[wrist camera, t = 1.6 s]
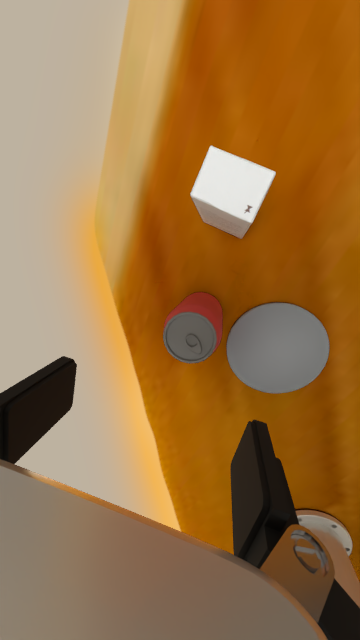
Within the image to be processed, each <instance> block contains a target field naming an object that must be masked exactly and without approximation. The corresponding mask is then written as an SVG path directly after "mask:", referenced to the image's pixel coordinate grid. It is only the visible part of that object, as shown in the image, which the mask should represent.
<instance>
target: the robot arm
mask: <svg viewBox="0 0 360 640" xmlns="http://www.w3.org/2000/svg"><path fill="white" fill-rule="evenodd" d="M76 367H77V364H76V363H75V361H74V360H73V359H71V358H68V357H65V356H63V357H61V358H59V359H57V360H56V361H54V362H52V363H51V364H49V365H47V366H46V367H44V368H42V369H40V370H39V371H37V372H36V373H34V374H32V375H31V376H29V377H27V378H25V379H24V380H22V381H20V382H19V383H17V384H15V385H14V386H12V387H10V388H9V389H7V390H5V391H4V392H2V393H0V640H360V583H359V580H358V578H357V575H356V573H355V571H354V568H353V566H352V564H351V561H350V559H349V555H350V554H351V552H352V547H353V545H352V540H351V537H350V535H349V533H348V531H347V529H346V528H345V526H344V525H343V524H342V523H341V522H339V521H338V520H337V519H335V518H334V517H332V516H330V515H328V514H325V513H323V512H319V511H314V510H298V511H295V508H294V504H293V501H292V497H291V494H290V491H289V487H288V484H287V480H286V477H285V473H284V470H283V466H282V463H281V461H280V460H279V459H278V458H276V457H275V454H274V450H273V446H272V442H271V439H270V435H269V431H268V428H267V424H266V423H263V422H260V421H257V420H253V421H252V422H250V421H249V422H248V424H247V426H246V429H245V431H244V434H243V436H242V438H241V441H240V443H239V445H238V448H237V450H236V453H235V455H234V457H233V460H232V463H231V492H232V518H233V544H234V555H232V554H230V553H228V552H226V551H224V550H222V549H220V548H217V547H215V546H213V545H210V544H208V543H206V542H203V541H201V540H199V539H197V538H194V537H192V536H190V535H187V534H185V533H183V532H180V531H178V530H175V529H173V528H170V527H168V526H166V525H163V524H161V523H158V522H156V521H153V520H151V519H149V518H146V517H144V516H141V515H139V514H136V513H134V512H132V511H129V510H127V509H124V508H122V507H119V506H117V505H114V504H112V503H109V502H107V501H105V500H102V499H100V498H97V497H95V496H92V495H90V494H87V493H85V492H82V491H80V490H77V489H75V488H72V487H70V486H67V485H65V484H62V483H60V482H57V481H55V480H52V479H50V478H47V477H44V476H42V475H40V474H37V473H35V472H32V471H30V470H27V469H25V468H22V467H20V466H17V465H15V463H16V462H17V461H18V460H19V459H20V458H21V457H22V456H23V455H24V454H25V453H26V452H27V451H28V450H29V449H30V448H31V447H32V446H33V445H34V444H35V443H36V442H37V441H38V440H39V439H40V438H41V437H42V436H44V435H45V434H46V433H47V432H48V430H50V429H51V427H53V426H54V425H55V424H56V423H57V422H58V421H59V420H60V419H61V418H62V417H63V416H64V415H65V414H66V413H67V412H68V411H69V410H70V408H71V407H72V403H73V394H74V385H75V375H76Z"/></svg>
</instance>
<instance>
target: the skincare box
mask: <svg viewBox="0 0 360 640" xmlns="http://www.w3.org/2000/svg"><path fill="white" fill-rule="evenodd" d="M275 175H276V172H275V171H272V170H270V169H267V168H265V167H263V166H260V165H258V164H255V163H253V162H250V161H248V160H246V159H243V158H240V157H238V156H235V155H233V154H230V153H228V152H225V151H223V150H220V149H218V148H216V147H213V146H210V148H209V150H208V153H207V155H206V157H205V160H204V162H203V165H202V167H201V169H200V172H199V174H198V177H197V179H196V181H195V184H194V186H193V189H192V191H191V194H190V196H191V198H192V200H193V202H194V204H195V206H196V208H197V210H198V212H199V214H200V216H201V218H202V220H203V222H205V223H207V224H209V225H212V226H214V227H216V228H218V229H220V230H223V231H225V232H227V233H229V234H232V235H234V236H236V237H238V238H240V239H242V238H243V236H244V235H245V233H246V232H247V230H248V228H249V227H250V225H251V224H252V223H253V221H254V219H255V217H256V214H257V212H258V210H259V208H260V206H261V204H262V202H263V200H264V198H265V196H266V194H267V192H268V189H269V187H270V185H271V183H272V181H273V179H274V177H275Z"/></svg>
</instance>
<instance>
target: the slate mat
mask: <svg viewBox="0 0 360 640" xmlns="http://www.w3.org/2000/svg"><path fill="white" fill-rule="evenodd" d="M328 355H329V339H328V335H327V333H326V330H325V328H324V327H323V325H322V324H321V322H320V321H319V320H318V319H317V318H316V317H315V316H314V315H313V314H311V313H310V312H308V311H307V310H305V309H303V308H301V307H299V306H296V305H293V304H289V303H282V302H274V303H266V304H262V305H259V306H257V307H254V308H252V309H250V310H249V311H247V312H246V313H244V314H243V315H242V316H241V317H240V318H239V319H238V320H237V321H236V322H235V323H234V325H233V327H232V328H231V330H230V333H229V335H228V339H227V357H228V361H229V364H230V366H231V368H232V370H233V372H234V373H235V375H236V376H237V377H238V378H239V379H240V380H241V381H242V382H244V383H245V384H246V385H248V386H250V387H252V388H254V389H256V390H259V391H262V392H267V393H286V392H291V391H294V390H297V389H300V388H302V387H304V386H306V385H307V384H309V383H310V382H312V381H313V380H314V379H315V378H316V377H317V376H318V375H319V374H320V372H321V371H322V370H323V368H324V366H325V364H326V362H327V359H328Z"/></svg>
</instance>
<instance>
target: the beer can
mask: <svg viewBox="0 0 360 640" xmlns="http://www.w3.org/2000/svg"><path fill="white" fill-rule="evenodd" d="M222 321H223V314H222V307H221V305H220V303H219V301H218V300H217V299H216V298H215V297H214V296H212V295H210V294H208V293H203V292H198V293H193V294H191V295H189V296H187V297H186V298H185V299H184V300H183V301H182V302H181V303H180V304H179V305H178V306H177V307H176V308H175V309H174V310H173V311H172V312H171V313H169V315H168V317H167V319H166V321H165V325H164V332H163V333H164V334H163V339H164V345H165V346H166V348H167V350H168V352H169V353H170V354H171V355H172V356H173V357H174V358H176V359H178V360H179V361H181V362H185V363H198V362H201V361H204V360H205V359H207V358H208V357H209V356H210V355H211V354H212V353H213V352H214V351H215V350H216V349H217V347H218V345H219V344H220V342H221V337H222Z"/></svg>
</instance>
